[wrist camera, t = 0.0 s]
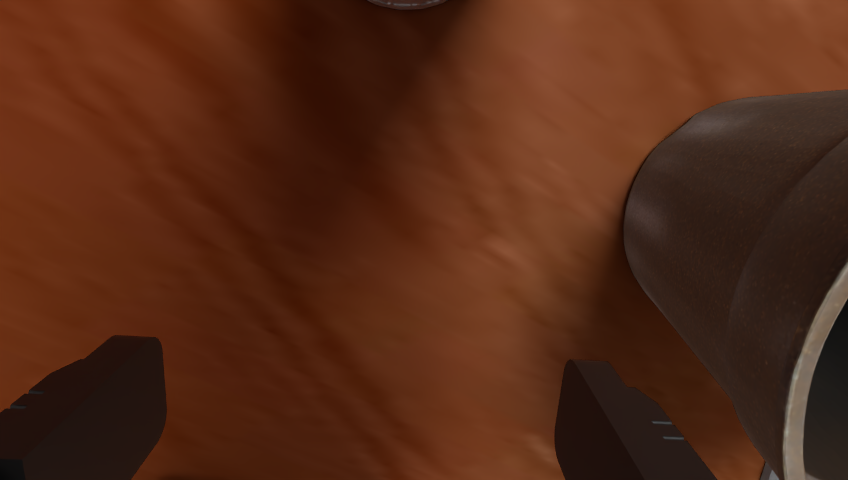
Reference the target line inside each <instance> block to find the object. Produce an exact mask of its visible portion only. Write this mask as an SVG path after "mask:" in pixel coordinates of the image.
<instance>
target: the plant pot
mask: <svg viewBox="0 0 848 480" xmlns="http://www.w3.org/2000/svg"><path fill="white" fill-rule="evenodd" d="M623 231H624V247H625V252H626V256H627V260H628V262H629V265H630V268H631V270H632V273H633V275H634V276H635V278H636V280H637V281H638V283H639V284H640V286H641V287H642V289H643V290H644V292H645V293H646V295H647V296H648V297H649V298H650V299H651V300H652V301H653V302H654V304H655V305H656V306H657V307H658V309H659V310H660V311H661V312H662V313H663V315H664V316H665V317H666V318H667V320H668V321H669V322H670V323H671V325H672V326H673V327H674V328H675V330H676V331H677V332H678V333H679V335H680V336H681V337H682V338H683V340H684V341H685V342H686V344H687V345H688V346H689V347H690V349H691V350H692V351H693V352H694V354H695V355H696V356H697V357H698V359H699V360H700V361H701V362H702V364H703V365H704V366H705V367H706V369H707V370H708V371H709V372H710V374H711V375H712V376H713V377H714V379H715V380H716V381H717V382H718V384H719V385H720V386H721V388H722V389H723V390H724V391H725V393H726V394H727V395H728V396H729V398H730V399H731V400H732V403H733V406H734V409H735V411H736V414H737V416H738V419H739V421H740V423H741V424H742V426H743V428H744V430H745V432H746V434H747V435H748V437H749V439H750V440H751V442H752V443H753V445H754V446H755V447H756V449H757V450H758V451H759V453H760V454H761V456H762V457H763V458H764V460H765V461H766V462H767V464H768V465H769V466H770V468H771V469H772V470H773V472H774V473H775V474H776V476H777V477H778V478H779V480H848V90H836V91H824V92H812V93H800V94H788V95H776V96H761V97H749V98H742V99H737V100H732V101H728V102H724V103H720V104H717V105H715V106H713V107H710V108H708V109H706V110H704V111H702V112H699V113H697V114H695V115H694V116H693V117H691V119H690V120H689V121H688V122H687V123H686V124H685V125H683V126H682V127H681V128H679V129H678V130H677V131H676V132H674V133H673V134H672V135H671V136H669V137H668V138H667V139H665V140H664V141H663V142H661V143H660V144H658V146H657V147H656V148H655V149H654V150H653V151H652V153H651V154H650V155H649V156H648V158H647V159H646V161H645V163H644V164H643V166H642V167H641V169H640V171H639V173H638V175H637V177H636V179H635V181H634V184H633V186H632V189H631V191H630V194H629V198H628V201H627V206H626V211H625V218H624V227H623Z"/></svg>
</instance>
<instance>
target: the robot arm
mask: <svg viewBox="0 0 848 480" xmlns="http://www.w3.org/2000/svg"><path fill="white" fill-rule="evenodd" d="M367 1H369V2H371V3H374V4H376V5H378V6H383V7H388V8H393V9H398V10H411V9H424V8H427V7H431V6H435V5H438V4H442V3H444V2H446V1H448V0H367ZM166 412H167V406H166V392H165V379H164V366H163V352H162V346H161V343H160V341H159V339H157V338H156V337H141V336H121V335H115V336H112V337H111V338H109V339H108V340H107V341H106V342H104V343H103V344H102V345H101V346H100V347H98V348H97V349H96V350H95V351H94V352H92V353H91V354H90V355H89V356H87V357H86V358H85V359H80V360H78V361H76V362H74V363H72V364H69V365H67V366H65V367H63V368H61V369H59V370H57V371H54V372H52V373H50V374H49V375H48V376H47V377H45V378H44V379H43V380H42V381H40V382H39V383H38V384H36V385H35V386H34V387H33V388H31V389H30V390H29V393H28V394H24V395H22V396H21V397H20V398H19V399H17V400H16V401H15V402H14V403H12V404H11V407H10V409H5V410H3V411H2V412H1V413H0V480H131V478H132V477H133V476H134V474H135V473H136V471H137V470H138V469H139V467H140V466H141V464H142V463H143V462H144V460H145V459H146V458H147V456H148V455H149V453H150V452H151V451H152V449H153V448H154V446H155V445H156V444H157V442H158V441H159V439H160V437H161V434H162V432H163V429H164V425H165V420H166ZM555 449H556V455H557V459H558V462H559V464H560V467H561V470H562V472H563V475H564V477H565V480H717V479H716V477H715V476H714V475H713V474H712V472H711V471H710V470H709V468H708V467H707V466H706V465H705V463H704V462H703V461H702V459H701V458H700V457H699V456H698V454H697V453H696V452H695V451H694V449H693V448H692V447H691V445H690V444H689V443H688V442H687V441H684V437H683V435H682V434H681V433H680V431H679V430H678V429H677V428H676V426H675V425H672V421H671V420H670V419H669V417H668V416H667V415H666V414H665V412H664V411H663V410H662V408H661V407H660V406H659V405H658V403H656V402H655V401H653V400H652V399H651V398H649V397H648V396H646V395H645V394H643V393H642V392H641V391H639V390H638V389H636V388H631V387H626V385H625V384H624V382H623V381H622V380H621V378H620V377H619V375H618V374H617V373H616V371H615V370H614V369H613V367H612V366H611V364H610V363H609V362H607V361H591V360H571V359H570V360H568V362H567V363H566V365H565V369H564V374H563V380H562V387H561V393H560V399H559V405H558V412H557V418H556V424H555Z"/></svg>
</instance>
